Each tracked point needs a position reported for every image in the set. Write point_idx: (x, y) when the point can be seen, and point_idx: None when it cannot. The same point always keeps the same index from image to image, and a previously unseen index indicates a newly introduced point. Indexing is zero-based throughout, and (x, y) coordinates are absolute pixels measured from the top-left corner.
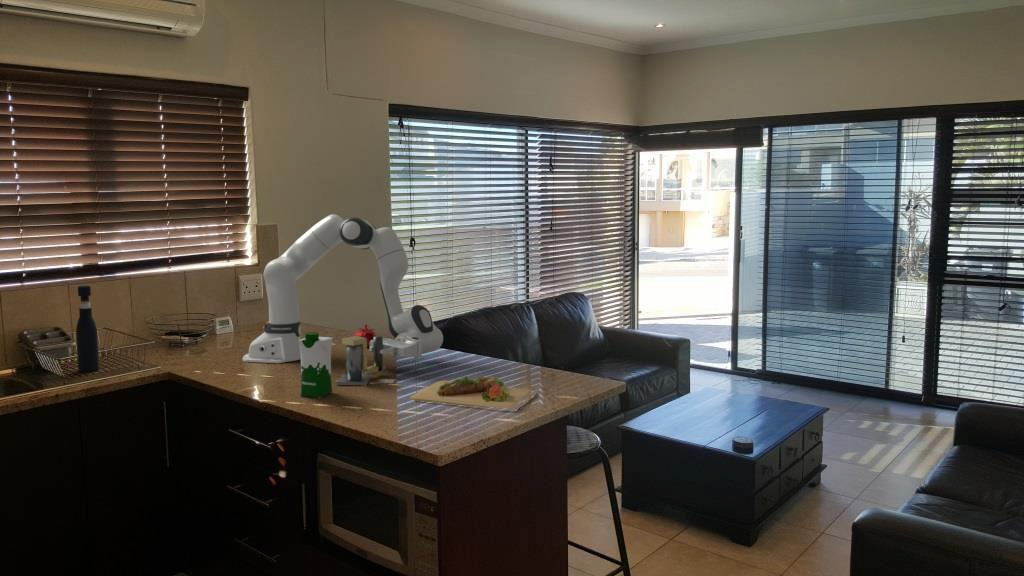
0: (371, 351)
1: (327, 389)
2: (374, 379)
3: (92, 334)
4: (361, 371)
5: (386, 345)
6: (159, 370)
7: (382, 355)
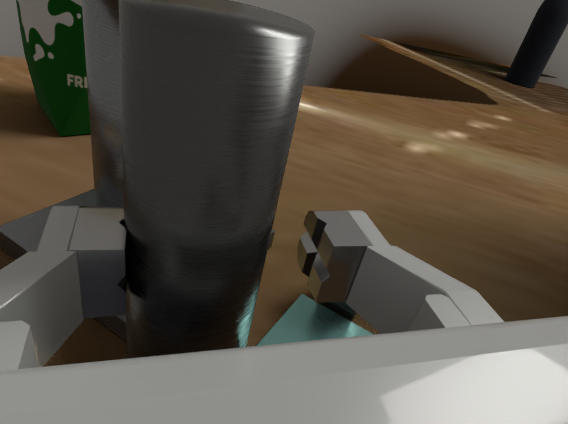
0: (306, 248)
1: (41, 97)
2: (96, 358)
3: (542, 18)
4: (103, 206)
5: (258, 354)
6: (515, 103)
7: (136, 325)
